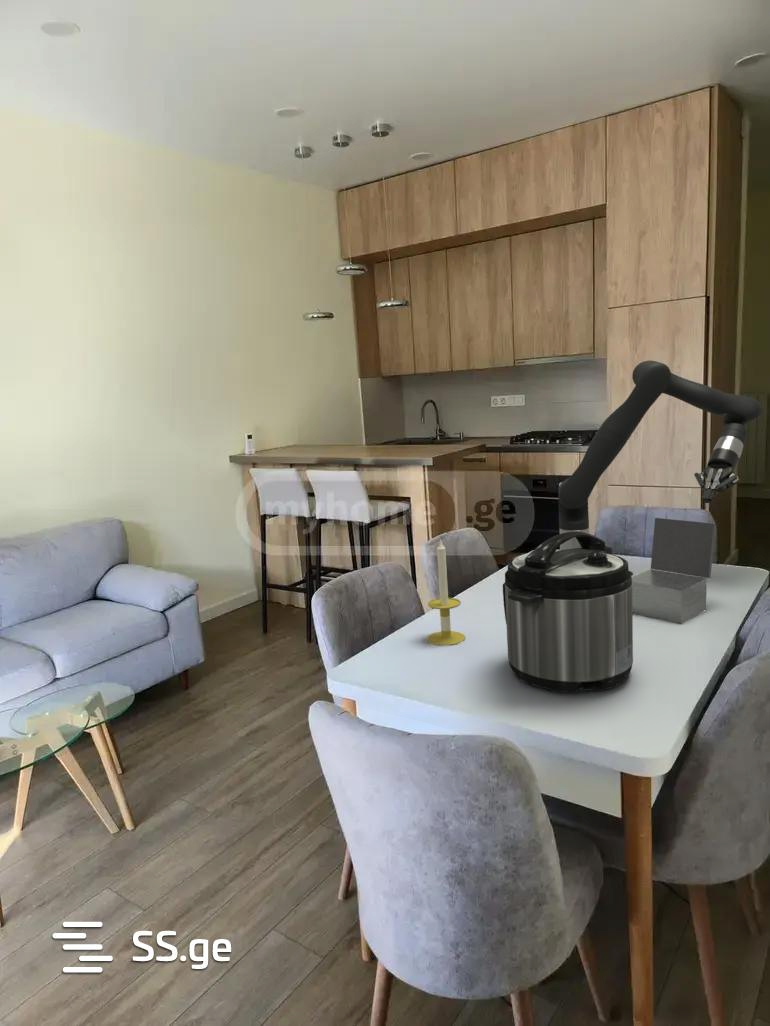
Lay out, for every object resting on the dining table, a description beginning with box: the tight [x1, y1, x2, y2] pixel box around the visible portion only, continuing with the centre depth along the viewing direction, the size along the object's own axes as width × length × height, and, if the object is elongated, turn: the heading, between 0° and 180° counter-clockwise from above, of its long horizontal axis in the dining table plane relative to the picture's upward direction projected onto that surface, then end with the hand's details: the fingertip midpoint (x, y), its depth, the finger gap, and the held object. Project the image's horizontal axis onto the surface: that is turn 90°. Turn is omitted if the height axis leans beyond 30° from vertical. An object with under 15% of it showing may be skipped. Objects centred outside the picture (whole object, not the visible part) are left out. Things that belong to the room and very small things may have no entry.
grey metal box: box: [632, 568, 708, 625], centre depth 184 cm, size 16×14×9 cm
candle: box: [426, 538, 466, 646], centre depth 174 cm, size 10×10×27 cm
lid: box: [650, 517, 716, 579], centre depth 188 cm, size 17×15×3 cm
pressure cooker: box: [502, 532, 634, 693], centre depth 148 cm, size 30×28×32 cm
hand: (706, 501), depth 195 cm, fingers closed
